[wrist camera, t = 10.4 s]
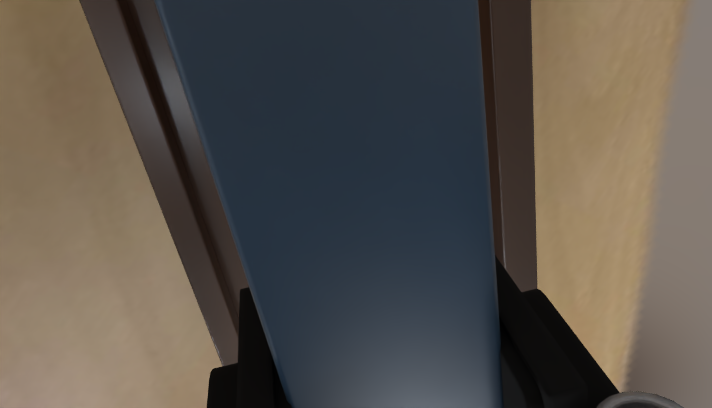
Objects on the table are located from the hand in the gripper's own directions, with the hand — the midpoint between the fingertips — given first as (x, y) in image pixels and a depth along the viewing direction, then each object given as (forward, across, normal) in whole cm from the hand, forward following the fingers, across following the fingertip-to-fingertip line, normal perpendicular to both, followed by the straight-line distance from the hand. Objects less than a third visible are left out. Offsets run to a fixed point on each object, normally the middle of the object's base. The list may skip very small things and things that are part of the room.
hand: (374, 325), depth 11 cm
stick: (0, 0, 0) cm, 0 cm away
